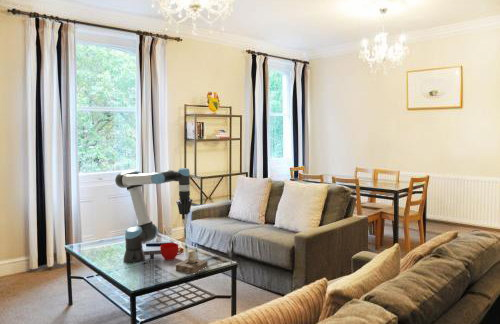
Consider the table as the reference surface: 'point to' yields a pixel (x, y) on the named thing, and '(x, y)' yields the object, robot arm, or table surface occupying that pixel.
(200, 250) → the table surface
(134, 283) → the table surface
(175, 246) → the ceramic cup
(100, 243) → the table surface
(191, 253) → the peg
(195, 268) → the board
